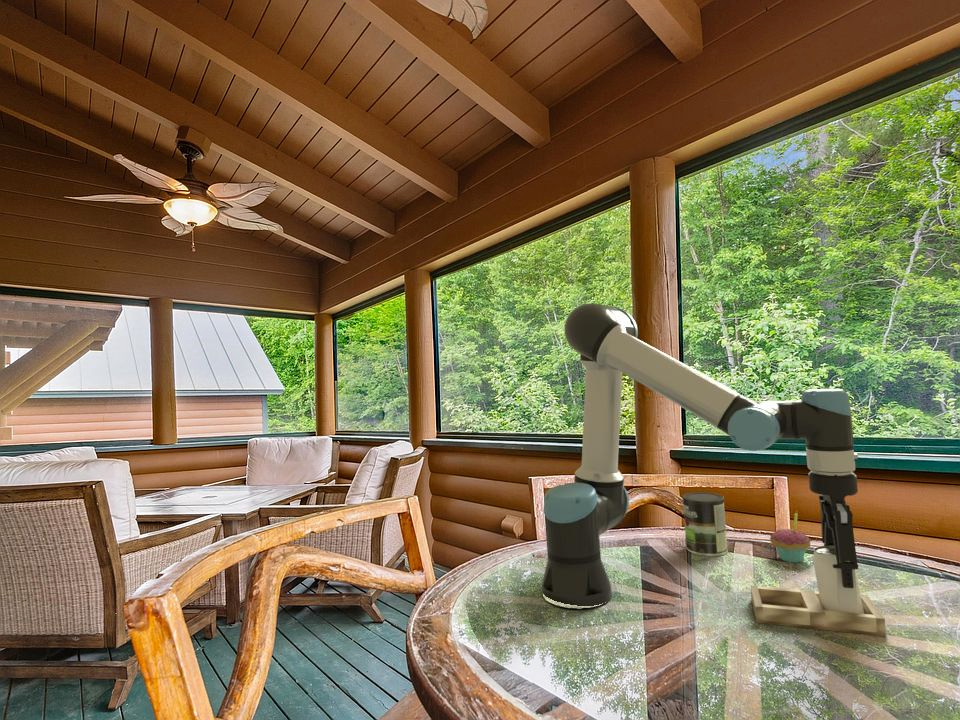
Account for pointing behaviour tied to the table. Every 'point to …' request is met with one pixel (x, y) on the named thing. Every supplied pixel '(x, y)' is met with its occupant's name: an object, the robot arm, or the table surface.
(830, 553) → the can
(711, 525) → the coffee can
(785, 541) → the cupcake
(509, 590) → the table surface
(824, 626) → the tan two-compartment tray
